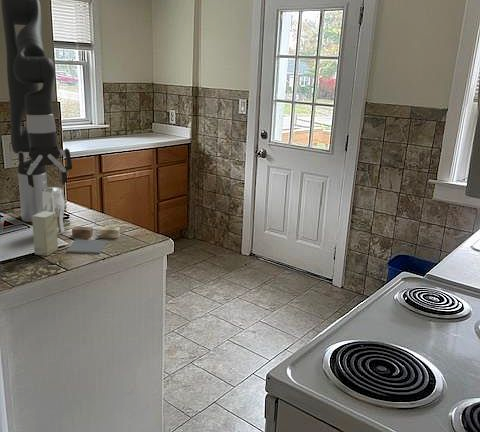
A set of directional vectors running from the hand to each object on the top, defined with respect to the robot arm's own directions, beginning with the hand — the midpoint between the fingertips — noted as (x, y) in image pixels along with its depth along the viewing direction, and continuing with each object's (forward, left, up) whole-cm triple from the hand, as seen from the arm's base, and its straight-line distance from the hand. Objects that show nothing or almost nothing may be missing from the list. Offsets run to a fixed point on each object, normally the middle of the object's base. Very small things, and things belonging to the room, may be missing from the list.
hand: (48, 185), depth 143 cm
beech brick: (-15, +15, -21) cm, 30 cm away
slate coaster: (-4, +10, -21) cm, 23 cm away
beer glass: (-17, -4, -21) cm, 27 cm away
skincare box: (+1, -1, -21) cm, 21 cm away
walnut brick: (-14, +6, -21) cm, 26 cm away
